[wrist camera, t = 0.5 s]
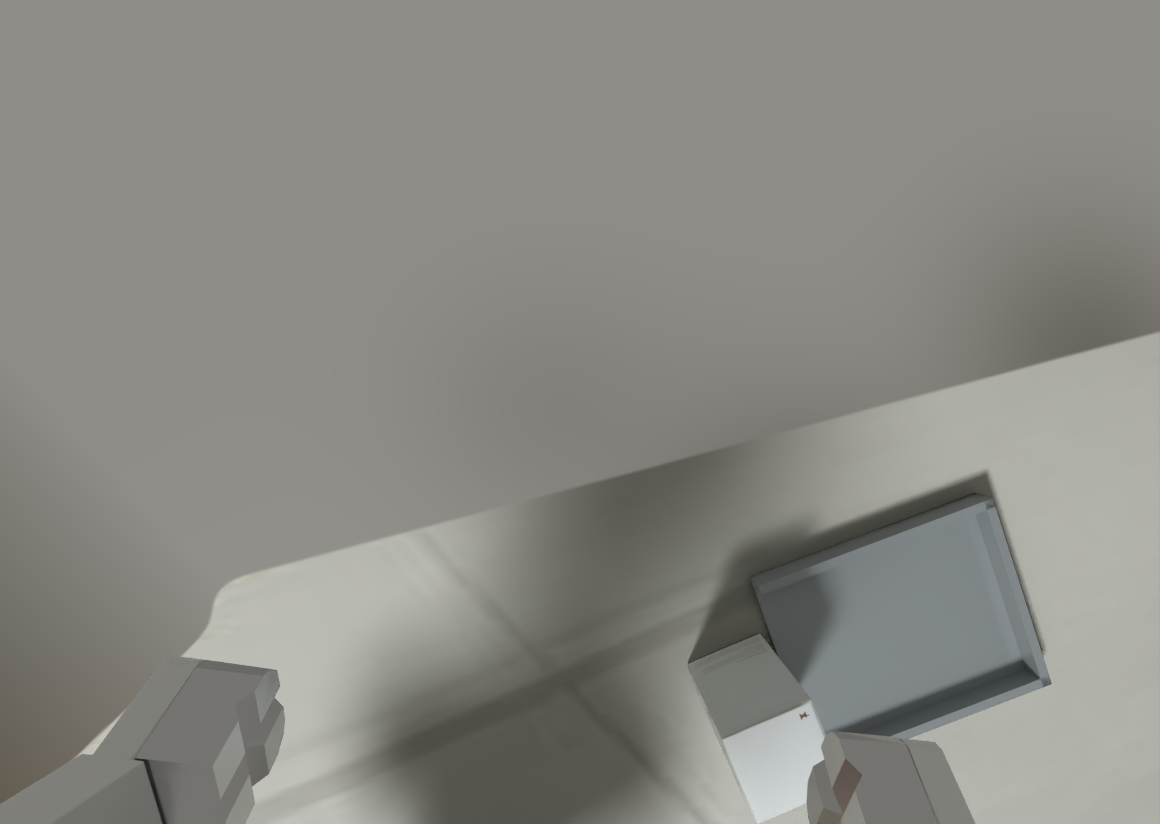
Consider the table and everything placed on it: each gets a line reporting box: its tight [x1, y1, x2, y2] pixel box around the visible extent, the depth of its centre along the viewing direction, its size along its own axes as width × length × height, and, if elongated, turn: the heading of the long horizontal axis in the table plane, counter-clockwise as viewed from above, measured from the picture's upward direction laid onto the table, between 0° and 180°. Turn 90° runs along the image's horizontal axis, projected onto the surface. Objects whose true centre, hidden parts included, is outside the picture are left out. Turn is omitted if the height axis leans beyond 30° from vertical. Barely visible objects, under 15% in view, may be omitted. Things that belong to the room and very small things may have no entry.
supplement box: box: [688, 634, 826, 824], centre depth 57 cm, size 7×7×13 cm
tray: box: [750, 493, 1052, 739], centre depth 63 cm, size 18×22×2 cm
